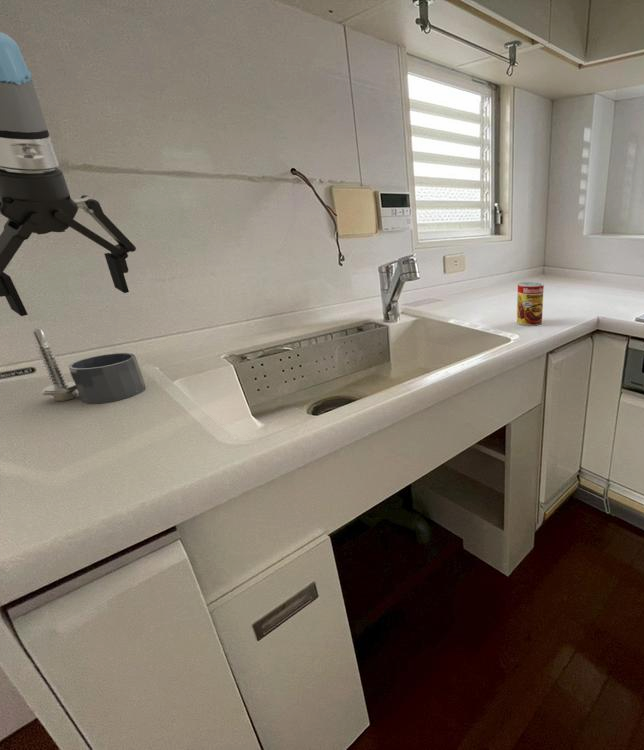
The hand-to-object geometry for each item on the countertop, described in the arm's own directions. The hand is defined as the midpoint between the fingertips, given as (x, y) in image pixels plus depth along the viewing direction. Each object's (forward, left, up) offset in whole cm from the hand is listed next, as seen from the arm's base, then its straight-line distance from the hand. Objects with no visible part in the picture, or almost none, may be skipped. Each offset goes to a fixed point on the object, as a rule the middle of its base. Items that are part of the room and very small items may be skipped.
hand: (75, 300), depth 68 cm
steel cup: (+1, 0, -17) cm, 17 cm away
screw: (-5, -4, -17) cm, 19 cm away
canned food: (+64, +75, -17) cm, 100 cm away
